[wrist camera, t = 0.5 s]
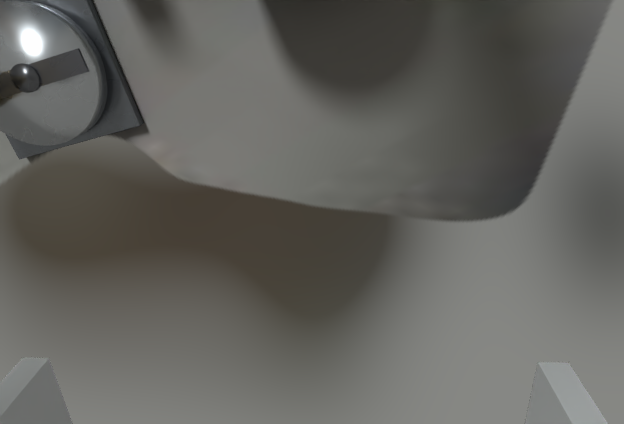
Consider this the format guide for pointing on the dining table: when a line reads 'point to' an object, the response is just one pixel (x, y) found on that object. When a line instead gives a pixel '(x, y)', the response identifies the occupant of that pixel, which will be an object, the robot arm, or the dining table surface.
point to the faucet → (47, 75)
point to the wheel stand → (119, 98)
